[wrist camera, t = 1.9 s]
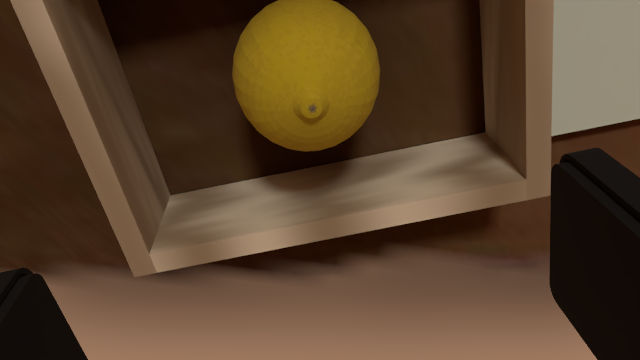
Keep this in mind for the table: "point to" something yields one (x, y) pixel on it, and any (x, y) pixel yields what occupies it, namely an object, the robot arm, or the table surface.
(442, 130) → the table surface
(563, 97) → the board
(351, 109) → the lemon
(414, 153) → the brown wooden tray
